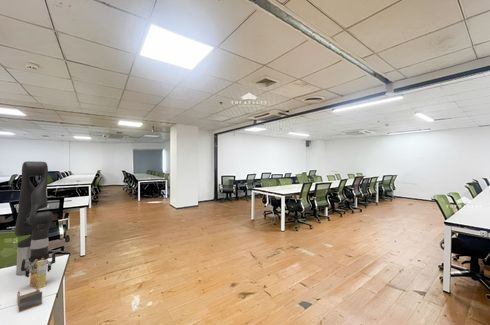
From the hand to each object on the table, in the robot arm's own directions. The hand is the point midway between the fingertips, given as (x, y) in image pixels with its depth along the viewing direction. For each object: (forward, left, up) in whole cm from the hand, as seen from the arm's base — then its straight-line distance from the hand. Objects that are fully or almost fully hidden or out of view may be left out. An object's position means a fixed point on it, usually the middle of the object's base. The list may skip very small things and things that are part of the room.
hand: (38, 274), depth 122 cm
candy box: (0, 0, -7) cm, 7 cm away
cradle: (+16, -5, -7) cm, 18 cm away
